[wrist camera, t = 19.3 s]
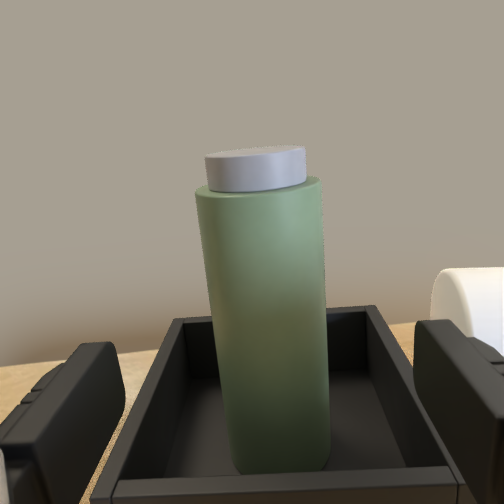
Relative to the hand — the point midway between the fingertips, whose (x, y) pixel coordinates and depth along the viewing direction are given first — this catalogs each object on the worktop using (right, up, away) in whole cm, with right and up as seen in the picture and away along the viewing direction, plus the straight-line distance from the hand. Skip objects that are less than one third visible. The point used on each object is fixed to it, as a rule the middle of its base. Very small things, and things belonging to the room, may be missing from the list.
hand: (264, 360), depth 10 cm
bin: (+1, -8, +11) cm, 14 cm away
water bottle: (+1, -7, +11) cm, 13 cm away
